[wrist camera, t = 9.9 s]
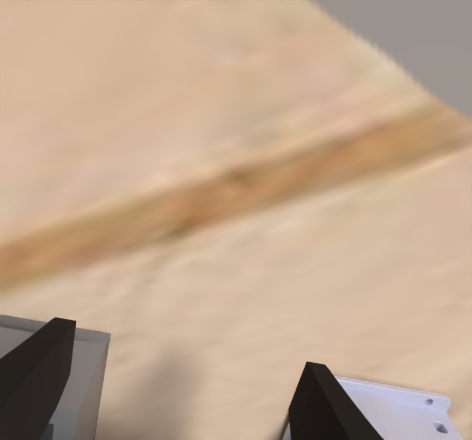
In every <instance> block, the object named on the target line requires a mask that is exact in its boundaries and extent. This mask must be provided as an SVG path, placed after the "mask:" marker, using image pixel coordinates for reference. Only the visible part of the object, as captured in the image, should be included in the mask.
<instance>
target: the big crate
mask: <svg viewBox="0 0 472 440" xmlns="http://www.w3.org/2000/svg"><path fill="white" fill-rule="evenodd" d="M45 324H47V323H46V322H40V321H34V320H28V319H23V318H17V317H11V316H5V315H0V358H2V357H3V356H5V355H6V354H7V353H9V352H10V351H11V350H13V349H14V348H16V347H17V346H18V345H20V344H21V343H22V342H24V341H25V340H26V339H27V338H29V337H30V336H31V335H33V334H34V333H35V332H36V331H38V330H39V329H40V328H42V327H43V326H44V325H45ZM109 341H110V334H109V333H103V332H97V331H92V330H86V329H80V328H75V337H74V346H73V355H72V363H71V372H70V376H69V379H68V381H67V384H66V386H65V389H64V391H63V394H62V396H61V398H60V401H59V403H58V406H57V408H56V410H55V412H54V414H53V415H52V417H51V419H50V421H49V423H48V425H47V427H46V428H45V430H44V432H43V434H42V436H41V438H40V439H39V440H94V438H95V432H96V425H97V419H98V412H99V406H100V399H101V393H102V386H103V380H104V373H105V367H106V360H107V354H108V347H109Z"/></svg>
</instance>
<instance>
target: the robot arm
mask: <svg viewBox="0 0 472 440" xmlns="http://www.w3.org/2000/svg"><path fill="white" fill-rule="evenodd" d="M75 328H76V321H74V320H68V319H62V318H57V317H55V318H53V319H52V320H50V321H49V322H48V323H47V324H45V325H44V326H43V327H42V328H40V329H39V330H38V331H36V332H35V333H34V334H33V335H31V336H30V337H29V338H27V339H26V340H25V341H24V342H22V343H21V344H20V345H18V346H17V347H16V348H14V349H13V350H11V351H10V352H9V353H7V354H6V355H5V356H3V357H2V358H0V440H39V439H40V438H41V436H42V434H43V432H44V430H45V428H46V427H47V425H48V423H49V421H50V419H51V417H52V415H53V414H54V412H55V410H56V408H57V406H58V403H59V401H60V398H61V396H62V394H63V391H64V389H65V386H66V384H67V381H68V379H69V376H70V372H71V363H72V355H73V346H74V337H75ZM450 405H451V401H450V399H449V398H448V396H447V395H444V394H439V393H433V392H427V391H421V390H416V389H410V388H404V387H398V386H392V385H387V384H381V383H375V382H369V381H363V380H358V379H352V378H346V377H340V376H335V375H333V374H332V373H331V372H330V370H329V369H328V368H327V366H326V365H324V364H318V363H313V362H306V365H305V368H304V370H303V373H302V375H301V378H300V381H299V383H298V386H297V389H296V391H295V394H294V396H293V399H292V402H291V404H290V407H289V423H288V426H287V428H286V431H285V434H284V436H283V439H282V440H463V438H462V436H461V435H460V433H459V432H458V430H457V429H456V427H455V425H454V424H453V422H452V421H451V419H450V418H449V416H448V414H447V413H446V412H447V410H448V409H449V407H450Z"/></svg>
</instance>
